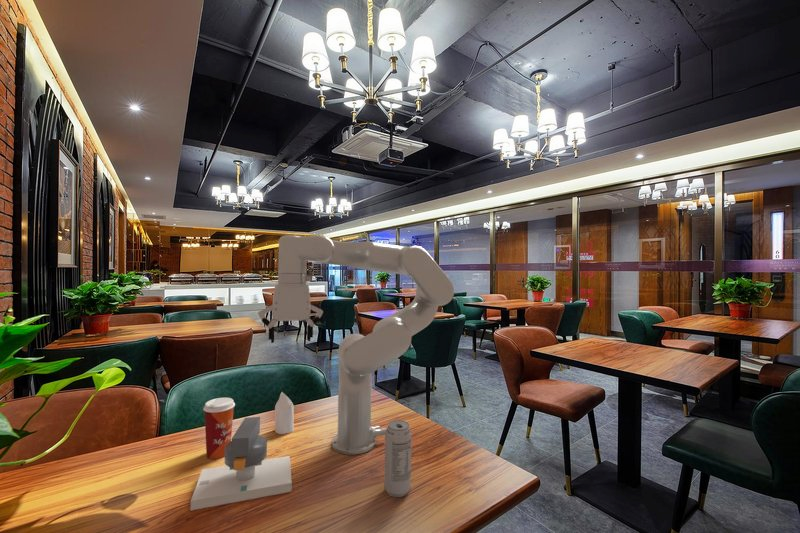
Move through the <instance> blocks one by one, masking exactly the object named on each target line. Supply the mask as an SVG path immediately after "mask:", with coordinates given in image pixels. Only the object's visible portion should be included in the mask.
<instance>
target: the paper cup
mask: <svg viewBox="0 0 800 533" xmlns="http://www.w3.org/2000/svg"><path fill="white" fill-rule="evenodd" d="M235 406H236V403H235V402H234V399H233V398H231V397H217V398H213V399H210V400H208V401H207V402H205V404H204V406H203V408H202V409H203V411H204V425H205V426H204V427H205V429H204V430H205V431H204V432H205V449H206V450H205V451H206V457H207V459H209V460H218V459H222V458H225V446H226V445H227V444H228V443H229V442H230V441H232V432H233V421H234V420H233V419H234V410H235Z"/></svg>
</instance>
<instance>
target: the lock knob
mask: <svg viewBox="0 0 800 533" xmlns="http://www.w3.org/2000/svg"><path fill="white" fill-rule="evenodd" d="M260 427H261V416H256V417H255V416H253V417H250V416H249V417H244V419H243V421H242V422H241V423H240V425H239V427H238V428H237V429H236V431H235V433H234V434H233V436H231V441H230V442H229V443H228V444H227V445H226V446H225V457H224V464H225V466H228V467H231V468H234V471H235V470H244V468H245V467H250V466H253V465H256V464H258V463H260V462H261V461H262V460H266V457H267V455H268V454H267V453H268V439H267V438H266V437H265V436H262V435H260V433H261V428H260Z"/></svg>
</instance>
